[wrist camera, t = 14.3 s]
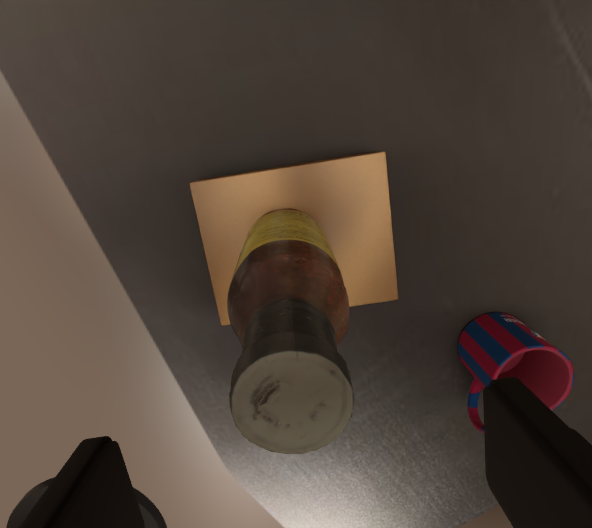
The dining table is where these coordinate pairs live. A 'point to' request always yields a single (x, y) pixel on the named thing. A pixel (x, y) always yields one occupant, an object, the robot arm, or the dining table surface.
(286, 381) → the sauce bottle
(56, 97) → the dining table surface
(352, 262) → the oak stand
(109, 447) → the robot arm
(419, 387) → the dining table surface
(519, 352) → the mug
